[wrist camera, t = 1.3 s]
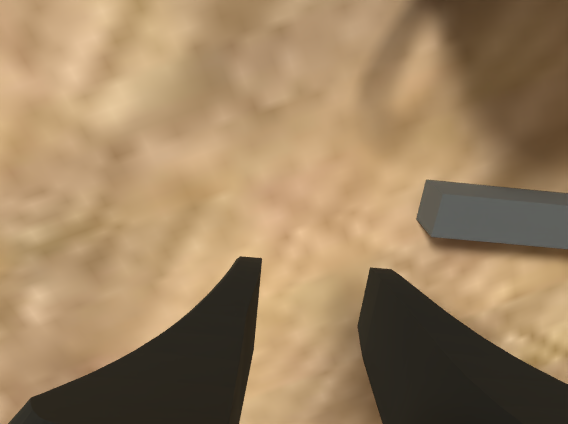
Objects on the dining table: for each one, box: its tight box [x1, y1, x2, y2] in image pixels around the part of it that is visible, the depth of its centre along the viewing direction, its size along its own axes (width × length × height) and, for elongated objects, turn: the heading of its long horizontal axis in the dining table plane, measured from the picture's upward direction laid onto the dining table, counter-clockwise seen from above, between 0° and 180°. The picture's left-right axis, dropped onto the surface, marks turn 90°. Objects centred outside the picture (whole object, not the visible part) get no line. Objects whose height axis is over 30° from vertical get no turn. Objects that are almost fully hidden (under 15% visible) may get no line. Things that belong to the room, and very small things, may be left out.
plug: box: [416, 180, 568, 249], centre depth 19 cm, size 12×3×3 cm, turn 84°
